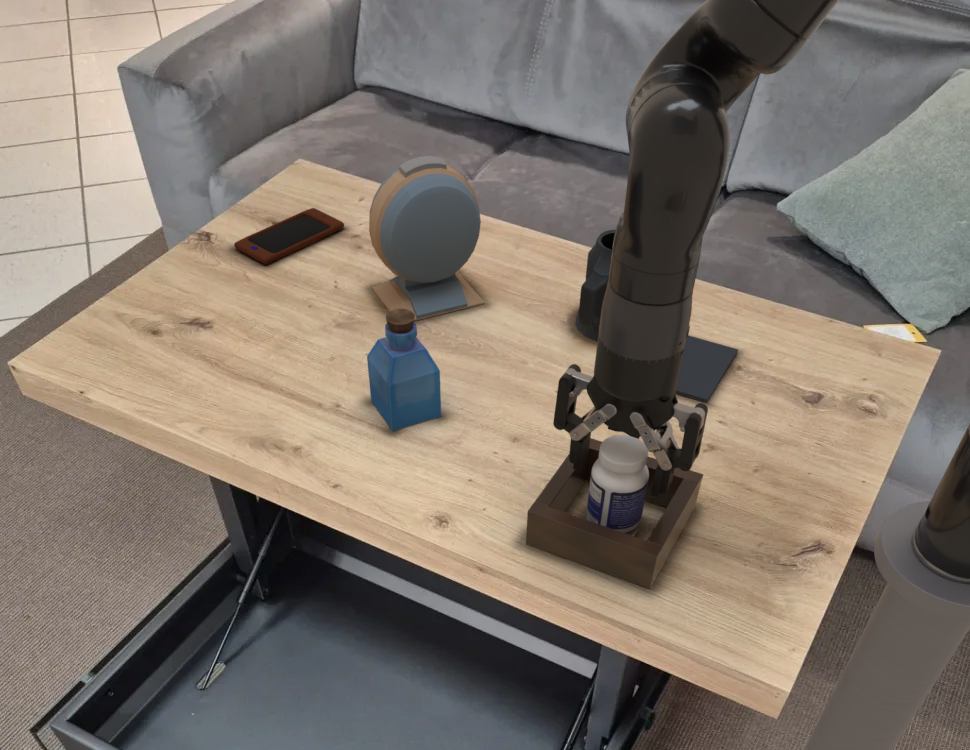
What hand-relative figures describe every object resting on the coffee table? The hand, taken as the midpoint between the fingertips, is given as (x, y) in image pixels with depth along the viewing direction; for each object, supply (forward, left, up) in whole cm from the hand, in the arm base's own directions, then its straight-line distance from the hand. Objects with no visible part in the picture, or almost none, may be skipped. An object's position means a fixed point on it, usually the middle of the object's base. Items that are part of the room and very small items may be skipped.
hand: (618, 478), depth 93 cm
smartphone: (+64, -34, -6) cm, 73 cm away
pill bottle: (0, 0, -6) cm, 6 cm away
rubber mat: (+4, -31, -6) cm, 32 cm away
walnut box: (0, 0, -6) cm, 6 cm away
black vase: (+15, -34, -6) cm, 38 cm away
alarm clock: (+39, -30, -6) cm, 50 cm away
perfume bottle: (+29, -7, -6) cm, 30 cm away
